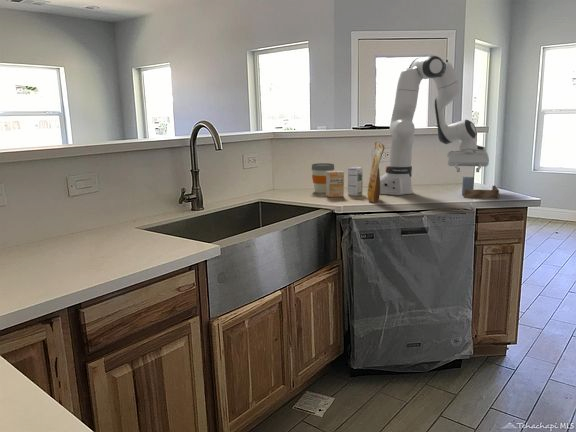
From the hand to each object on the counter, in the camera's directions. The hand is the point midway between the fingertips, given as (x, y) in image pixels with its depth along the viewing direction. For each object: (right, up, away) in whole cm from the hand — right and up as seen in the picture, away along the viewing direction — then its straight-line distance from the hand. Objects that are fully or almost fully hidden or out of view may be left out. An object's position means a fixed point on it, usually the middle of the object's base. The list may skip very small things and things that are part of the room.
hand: (467, 171), depth 238 cm
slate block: (-2, -13, -4) cm, 13 cm away
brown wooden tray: (+3, -13, -6) cm, 15 cm away
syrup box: (-59, -12, +2) cm, 60 cm away
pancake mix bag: (-52, -16, -14) cm, 56 cm away
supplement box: (-70, -14, -3) cm, 71 cm away
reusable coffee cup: (-75, -10, +14) cm, 77 cm away
